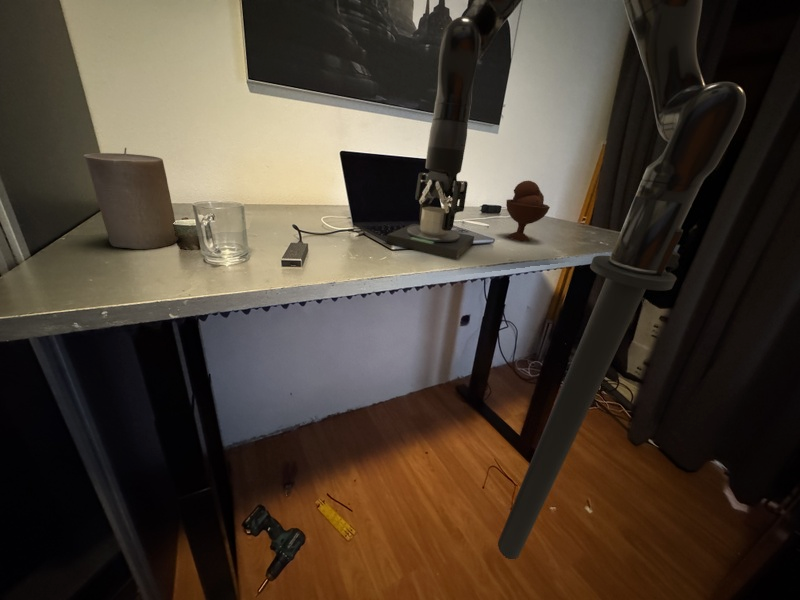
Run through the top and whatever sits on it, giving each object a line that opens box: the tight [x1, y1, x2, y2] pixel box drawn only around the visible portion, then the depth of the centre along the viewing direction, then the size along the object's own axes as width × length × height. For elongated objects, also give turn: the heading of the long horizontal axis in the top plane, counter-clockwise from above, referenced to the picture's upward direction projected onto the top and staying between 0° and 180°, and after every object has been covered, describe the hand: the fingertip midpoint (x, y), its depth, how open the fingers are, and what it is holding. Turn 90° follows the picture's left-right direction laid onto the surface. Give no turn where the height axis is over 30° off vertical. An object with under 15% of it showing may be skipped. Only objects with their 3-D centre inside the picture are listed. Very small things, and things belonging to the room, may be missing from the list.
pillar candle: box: [83, 147, 179, 250], centre depth 54 cm, size 10×10×15 cm
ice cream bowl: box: [505, 180, 551, 242], centre depth 86 cm, size 11×11×15 cm
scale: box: [386, 223, 475, 260], centre depth 75 cm, size 16×15×2 cm
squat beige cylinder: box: [419, 206, 448, 235], centre depth 73 cm, size 6×6×5 cm
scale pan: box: [407, 224, 460, 242], centre depth 74 cm, size 12×12×1 cm
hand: (434, 225), depth 73 cm, fingers open, 8 cm apart
